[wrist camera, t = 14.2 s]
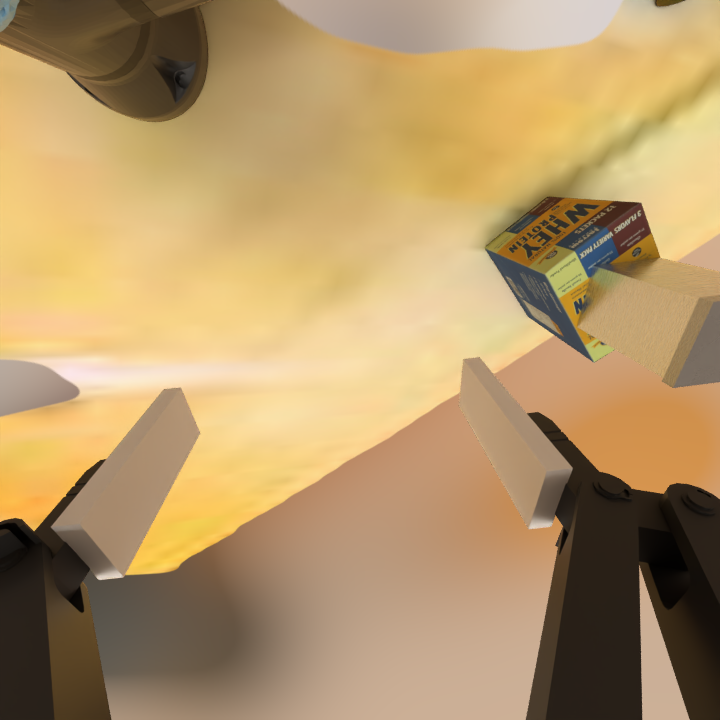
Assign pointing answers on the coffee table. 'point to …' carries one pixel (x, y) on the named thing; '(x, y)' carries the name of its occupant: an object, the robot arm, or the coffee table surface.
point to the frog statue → (667, 2)
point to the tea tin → (658, 317)
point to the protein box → (568, 259)
